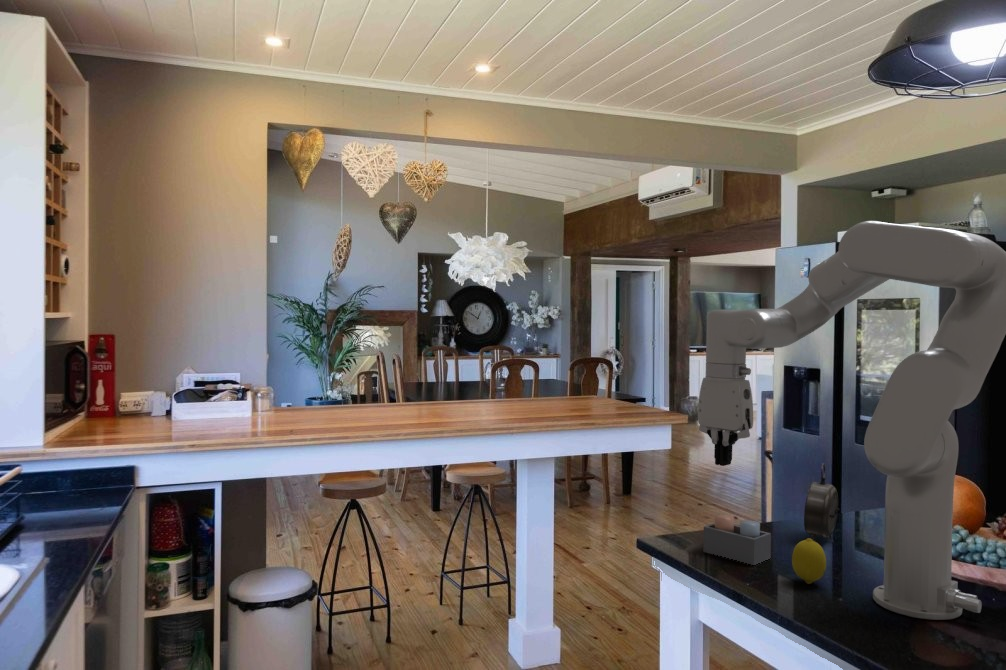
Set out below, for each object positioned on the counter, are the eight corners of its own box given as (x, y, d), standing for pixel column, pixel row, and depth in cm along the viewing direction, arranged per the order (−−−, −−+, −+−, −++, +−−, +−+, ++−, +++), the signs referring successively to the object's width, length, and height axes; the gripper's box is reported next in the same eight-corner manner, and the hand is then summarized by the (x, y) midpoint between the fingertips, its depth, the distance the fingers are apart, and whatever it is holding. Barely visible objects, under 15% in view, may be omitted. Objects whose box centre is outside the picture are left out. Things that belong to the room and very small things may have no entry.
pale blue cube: (763, 543, 141) (763, 523, 141) (753, 547, 138) (753, 526, 138) (746, 539, 144) (746, 519, 143) (736, 543, 141) (736, 522, 141)
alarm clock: (814, 532, 159) (815, 457, 158) (841, 536, 156) (842, 460, 155) (801, 545, 150) (802, 466, 149) (830, 550, 147) (831, 469, 146)
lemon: (829, 590, 125) (829, 544, 125) (794, 588, 126) (795, 542, 126) (821, 579, 130) (822, 534, 130) (788, 577, 131) (789, 532, 131)
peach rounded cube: (737, 537, 145) (737, 517, 145) (727, 540, 143) (727, 520, 143) (721, 533, 148) (721, 513, 148) (710, 536, 145) (711, 516, 145)
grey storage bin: (770, 559, 141) (771, 533, 141) (754, 566, 137) (754, 539, 137) (720, 545, 149) (720, 521, 149) (703, 551, 145) (703, 526, 145)
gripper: (770, 374, 141) (767, 468, 142) (703, 368, 153) (701, 456, 153) (749, 376, 136) (747, 474, 137) (682, 370, 148) (680, 460, 148)
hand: (722, 464), depth 145 cm, fingers closed
